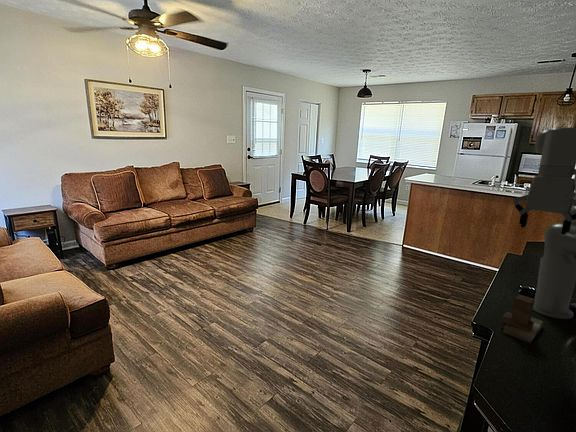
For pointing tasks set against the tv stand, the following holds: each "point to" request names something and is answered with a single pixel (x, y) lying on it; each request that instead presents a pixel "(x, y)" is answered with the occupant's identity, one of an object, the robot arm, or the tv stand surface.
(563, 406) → the tv stand surface
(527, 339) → the board
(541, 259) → the wrench
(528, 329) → the brown slider knob
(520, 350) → the tv stand surface
